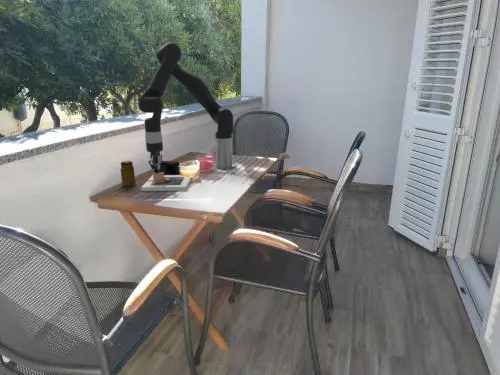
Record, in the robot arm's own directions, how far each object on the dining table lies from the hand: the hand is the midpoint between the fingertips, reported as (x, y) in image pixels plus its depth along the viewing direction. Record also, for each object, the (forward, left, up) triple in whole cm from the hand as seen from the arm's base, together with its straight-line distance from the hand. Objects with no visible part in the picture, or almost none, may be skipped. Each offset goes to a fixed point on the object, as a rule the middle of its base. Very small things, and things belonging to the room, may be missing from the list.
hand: (157, 176), depth 169 cm
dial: (-5, +2, -4) cm, 7 cm away
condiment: (+13, +2, -5) cm, 14 cm away
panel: (-5, +2, -4) cm, 7 cm away
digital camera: (-1, -19, -5) cm, 20 cm away
